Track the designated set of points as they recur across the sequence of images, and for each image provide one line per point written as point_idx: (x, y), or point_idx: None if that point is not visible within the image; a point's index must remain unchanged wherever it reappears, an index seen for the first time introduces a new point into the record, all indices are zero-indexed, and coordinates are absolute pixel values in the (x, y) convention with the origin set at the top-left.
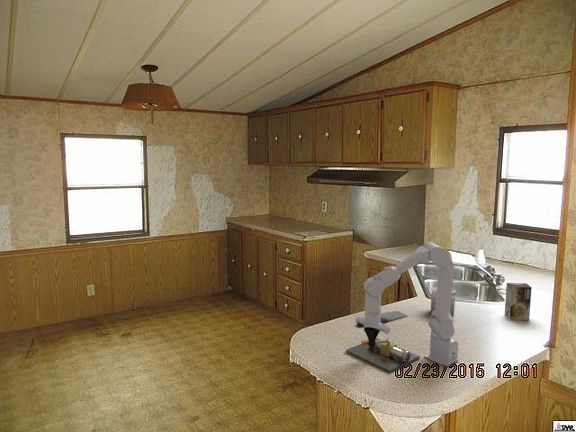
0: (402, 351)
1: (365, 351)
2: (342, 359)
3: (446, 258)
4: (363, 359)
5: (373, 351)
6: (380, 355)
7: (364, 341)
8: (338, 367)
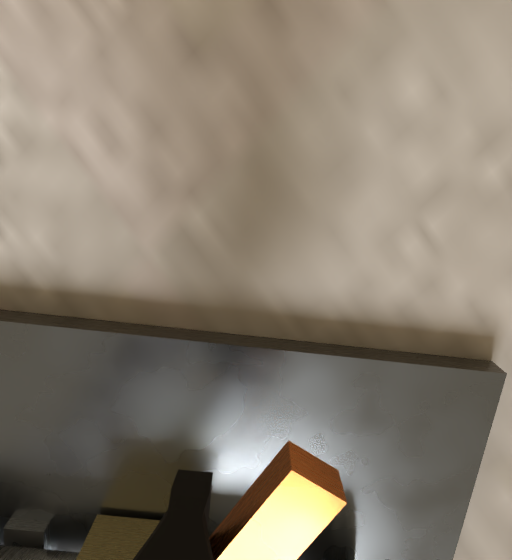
0: None
1: None
2: (435, 213)
3: None
4: (262, 342)
5: None
6: None
7: (299, 510)
8: (367, 22)
